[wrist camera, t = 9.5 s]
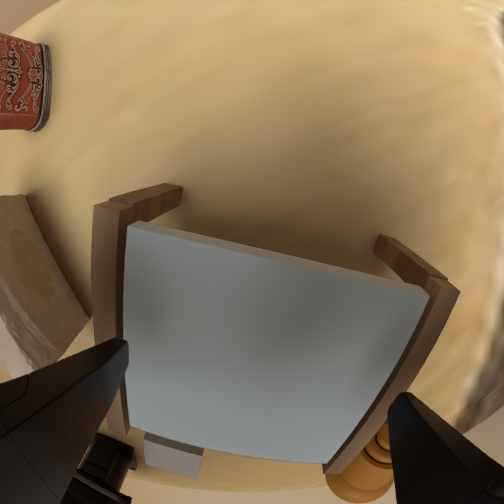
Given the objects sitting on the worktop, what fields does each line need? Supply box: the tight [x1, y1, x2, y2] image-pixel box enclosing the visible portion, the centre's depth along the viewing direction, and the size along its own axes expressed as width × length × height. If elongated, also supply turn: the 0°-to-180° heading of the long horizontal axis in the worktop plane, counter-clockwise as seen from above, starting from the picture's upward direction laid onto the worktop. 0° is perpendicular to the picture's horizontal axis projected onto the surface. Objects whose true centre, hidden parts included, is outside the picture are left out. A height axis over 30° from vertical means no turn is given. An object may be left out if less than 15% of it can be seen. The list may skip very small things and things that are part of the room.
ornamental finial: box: [326, 423, 394, 503], centre depth 20 cm, size 8×8×8 cm
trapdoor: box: [123, 221, 430, 464], centre depth 12 cm, size 12×12×1 cm
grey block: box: [0, 194, 89, 379], centre depth 15 cm, size 12×4×10 cm, turn 26°
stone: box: [143, 432, 204, 479], centre depth 22 cm, size 5×5×5 cm
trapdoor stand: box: [91, 183, 460, 474], centre depth 16 cm, size 15×14×8 cm
